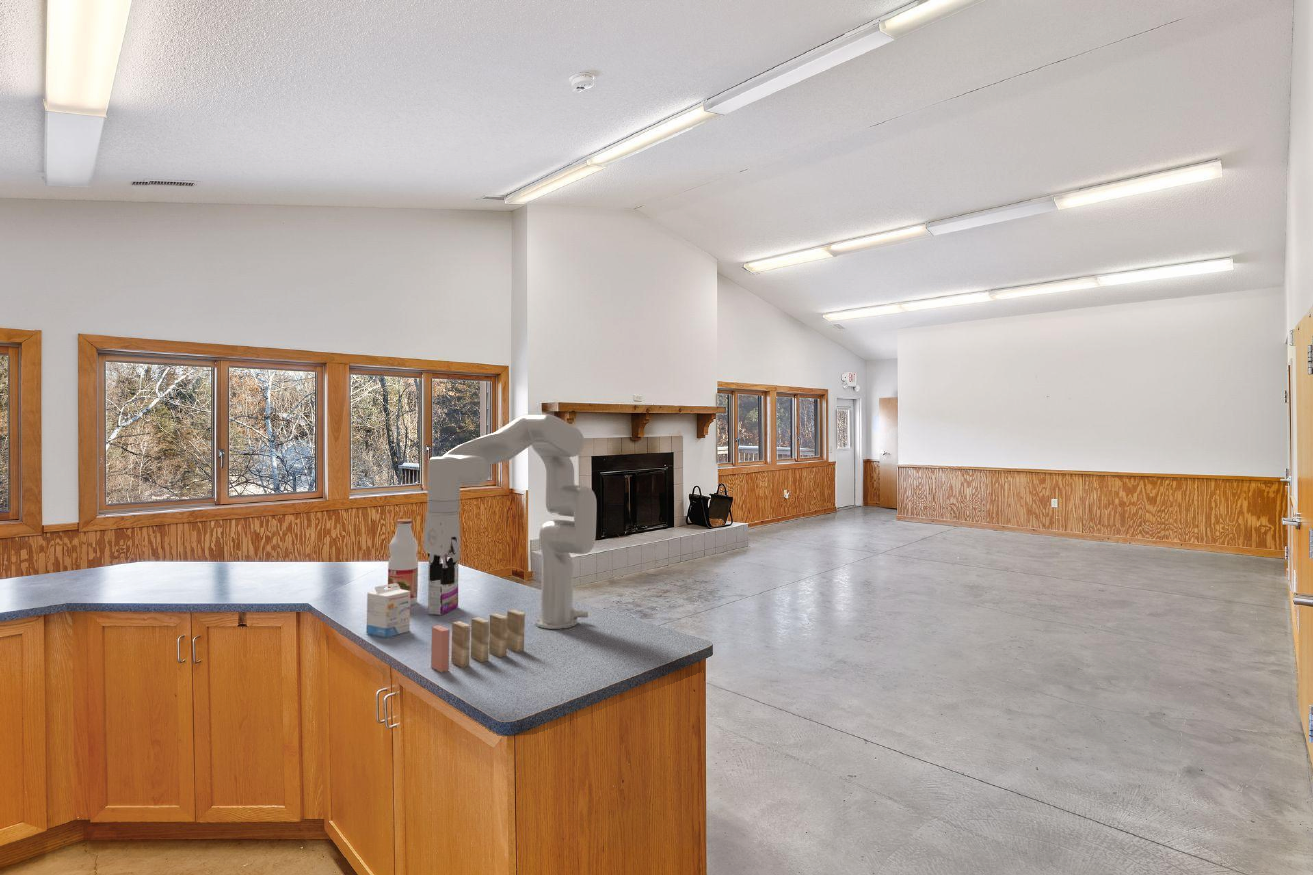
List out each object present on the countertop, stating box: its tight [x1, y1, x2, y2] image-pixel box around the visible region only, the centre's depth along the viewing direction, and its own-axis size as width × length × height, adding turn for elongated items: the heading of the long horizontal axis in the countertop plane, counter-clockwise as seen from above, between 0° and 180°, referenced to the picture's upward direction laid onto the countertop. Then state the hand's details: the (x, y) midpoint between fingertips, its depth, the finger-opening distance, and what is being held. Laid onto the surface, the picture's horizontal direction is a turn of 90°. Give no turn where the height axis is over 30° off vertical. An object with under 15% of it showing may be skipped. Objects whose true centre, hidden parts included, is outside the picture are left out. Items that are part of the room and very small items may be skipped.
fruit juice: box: [387, 518, 419, 606], centre depth 225 cm, size 9×9×28 cm
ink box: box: [365, 583, 411, 639], centre depth 193 cm, size 9×8×13 cm
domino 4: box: [488, 613, 508, 658], centre depth 176 cm, size 2×5×10 cm, turn 47°
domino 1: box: [430, 624, 451, 673], centre depth 164 cm, size 2×5×10 cm, turn 46°
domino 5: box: [506, 609, 526, 653], centre depth 180 cm, size 2×5×10 cm, turn 47°
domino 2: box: [450, 620, 471, 668], centre depth 168 cm, size 2×5×10 cm, turn 47°
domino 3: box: [470, 616, 490, 663], centre depth 172 cm, size 2×5×10 cm, turn 47°
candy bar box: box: [427, 557, 459, 616], centre depth 217 cm, size 11×5×16 cm, turn 168°
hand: (441, 581), depth 164 cm, fingers open, 4 cm apart
